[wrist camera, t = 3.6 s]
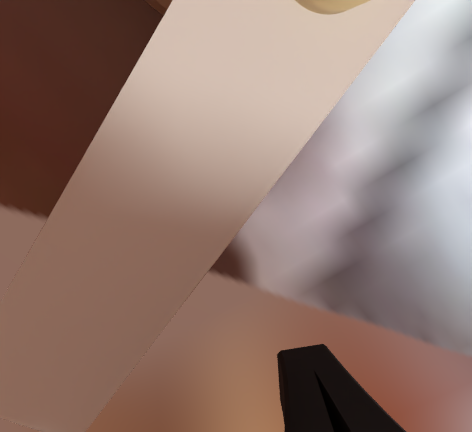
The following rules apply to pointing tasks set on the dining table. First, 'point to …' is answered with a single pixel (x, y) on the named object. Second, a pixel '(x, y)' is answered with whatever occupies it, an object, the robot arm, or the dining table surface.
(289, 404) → the robot arm
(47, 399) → the hinged leg
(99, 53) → the dining table surface
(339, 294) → the dining table surface
